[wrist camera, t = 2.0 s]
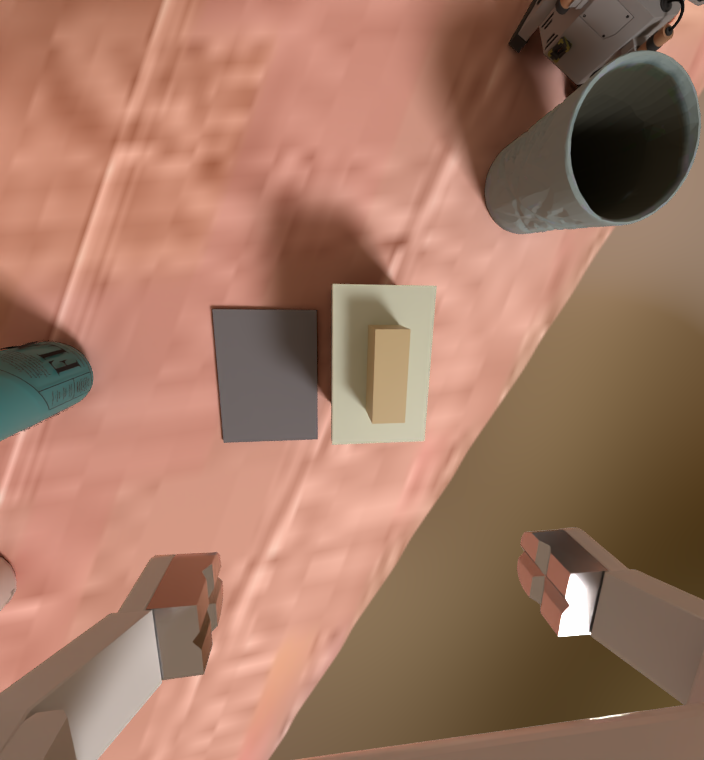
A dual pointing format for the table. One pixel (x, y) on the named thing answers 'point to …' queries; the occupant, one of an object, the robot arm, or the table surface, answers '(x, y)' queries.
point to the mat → (267, 374)
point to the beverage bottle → (39, 383)
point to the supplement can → (6, 582)
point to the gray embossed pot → (601, 151)
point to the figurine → (596, 30)
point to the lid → (380, 362)
